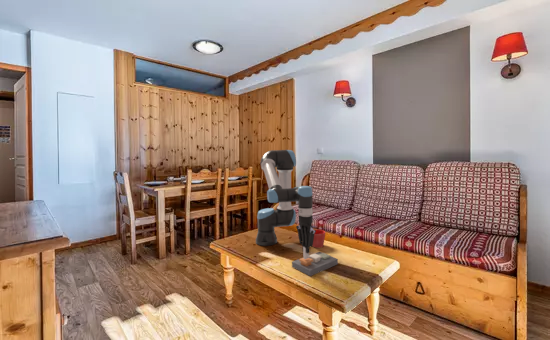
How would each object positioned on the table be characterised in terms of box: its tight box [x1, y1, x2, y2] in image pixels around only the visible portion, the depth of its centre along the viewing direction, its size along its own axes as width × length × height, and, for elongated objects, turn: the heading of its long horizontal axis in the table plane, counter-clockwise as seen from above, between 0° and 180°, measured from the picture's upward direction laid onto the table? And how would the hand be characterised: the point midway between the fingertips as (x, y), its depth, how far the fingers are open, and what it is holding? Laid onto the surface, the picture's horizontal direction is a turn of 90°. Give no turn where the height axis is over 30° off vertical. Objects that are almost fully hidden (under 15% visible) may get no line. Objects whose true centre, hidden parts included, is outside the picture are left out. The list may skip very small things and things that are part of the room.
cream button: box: [309, 253, 322, 263], centre depth 147 cm, size 5×5×3 cm
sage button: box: [318, 252, 331, 259], centre depth 151 cm, size 5×5×3 cm
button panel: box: [291, 251, 339, 277], centre depth 147 cm, size 14×22×3 cm, turn 128°
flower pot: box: [311, 229, 326, 249], centre depth 176 cm, size 11×11×10 cm
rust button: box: [298, 257, 313, 266], centre depth 142 cm, size 5×5×3 cm
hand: (306, 258), depth 142 cm, fingers closed
